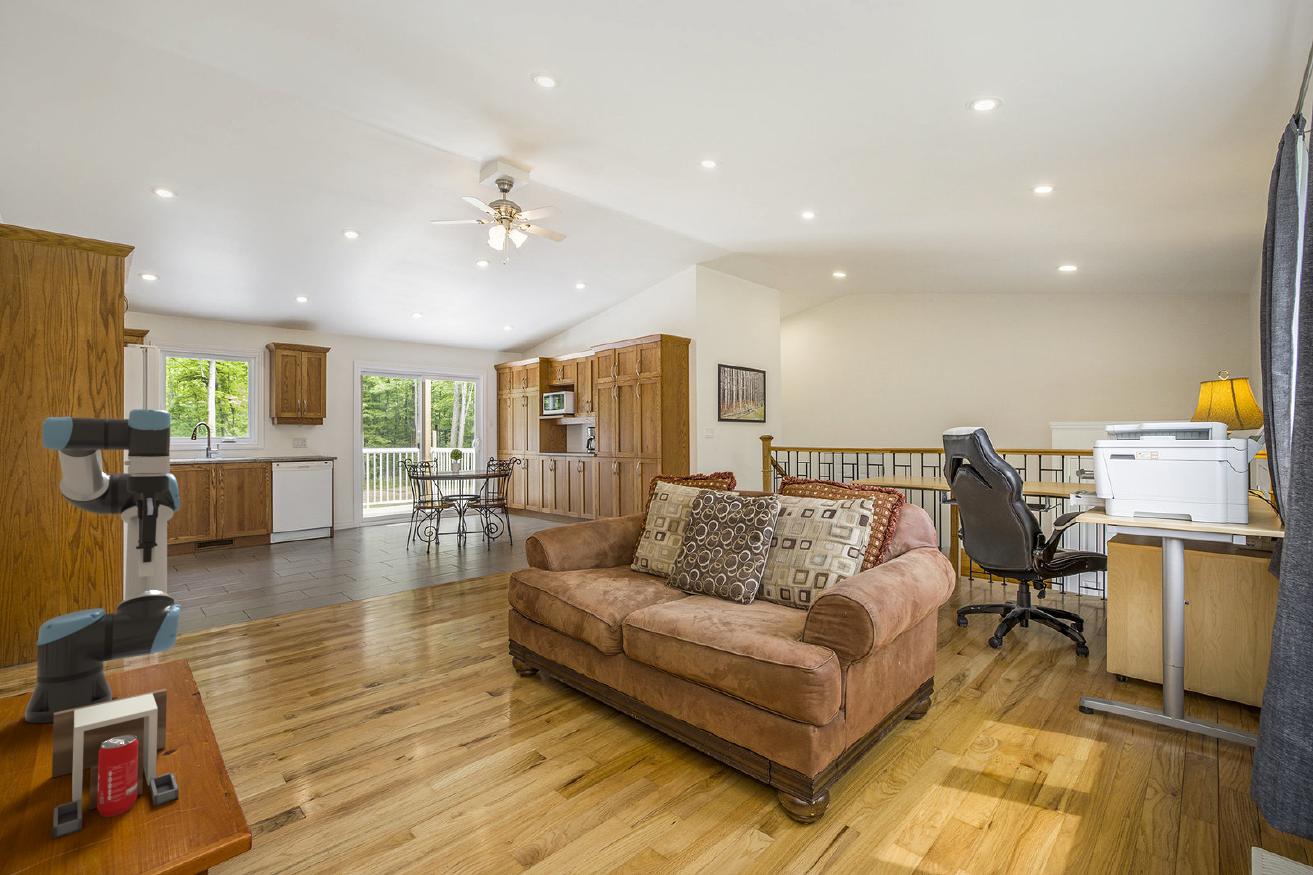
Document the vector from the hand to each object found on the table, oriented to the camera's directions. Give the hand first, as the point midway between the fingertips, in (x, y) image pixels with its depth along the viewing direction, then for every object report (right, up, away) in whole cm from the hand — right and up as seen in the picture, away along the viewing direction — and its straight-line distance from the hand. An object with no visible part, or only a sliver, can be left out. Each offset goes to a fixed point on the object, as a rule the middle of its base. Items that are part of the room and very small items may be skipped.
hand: (146, 575), depth 139 cm
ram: (+15, -34, -24) cm, 44 cm away
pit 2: (+28, -34, -28) cm, 52 cm away
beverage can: (+24, -34, -33) cm, 53 cm away
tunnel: (+16, -34, -26) cm, 45 cm away
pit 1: (+19, -34, -37) cm, 54 cm away
